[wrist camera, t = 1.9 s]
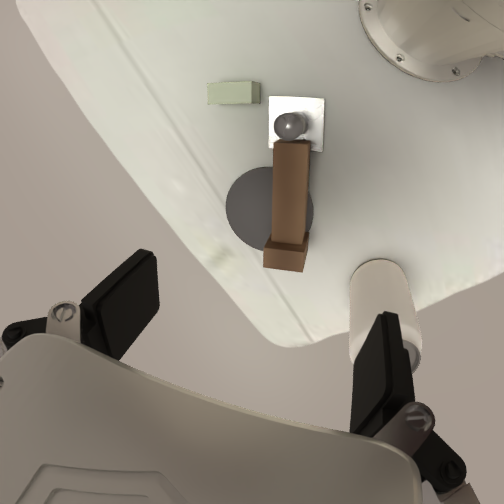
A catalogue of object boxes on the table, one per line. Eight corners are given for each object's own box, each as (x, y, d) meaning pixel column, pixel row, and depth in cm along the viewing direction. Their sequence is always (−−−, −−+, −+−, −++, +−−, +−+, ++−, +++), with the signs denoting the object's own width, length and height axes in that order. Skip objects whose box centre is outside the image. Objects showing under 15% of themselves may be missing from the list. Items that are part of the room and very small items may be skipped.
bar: (314, 141, 25) (311, 147, 22) (307, 250, 30) (302, 272, 27) (275, 138, 26) (264, 144, 22) (273, 246, 31) (263, 267, 28)
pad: (316, 171, 28) (315, 172, 27) (309, 254, 32) (309, 256, 31) (226, 165, 30) (224, 166, 29) (228, 244, 34) (227, 246, 33)
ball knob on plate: (324, 98, 24) (322, 96, 19) (322, 150, 26) (319, 161, 22) (270, 96, 25) (255, 94, 21) (270, 147, 28) (255, 156, 23)
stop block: (259, 83, 25) (251, 81, 22) (259, 103, 26) (251, 103, 23) (219, 84, 26) (207, 83, 23) (219, 104, 27) (207, 104, 24)
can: (337, 281, 32) (331, 362, 22) (383, 245, 29) (400, 321, 19) (372, 315, 33) (376, 397, 23) (416, 284, 30) (438, 364, 20)
